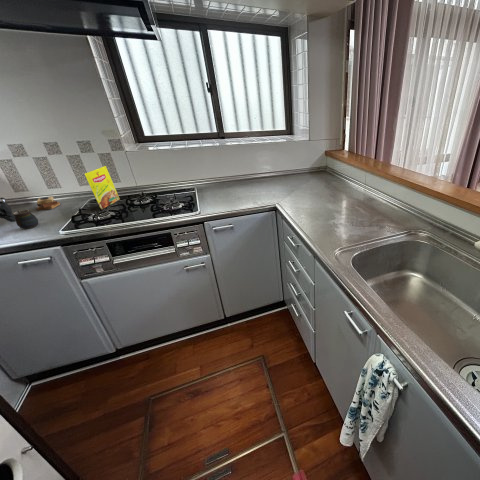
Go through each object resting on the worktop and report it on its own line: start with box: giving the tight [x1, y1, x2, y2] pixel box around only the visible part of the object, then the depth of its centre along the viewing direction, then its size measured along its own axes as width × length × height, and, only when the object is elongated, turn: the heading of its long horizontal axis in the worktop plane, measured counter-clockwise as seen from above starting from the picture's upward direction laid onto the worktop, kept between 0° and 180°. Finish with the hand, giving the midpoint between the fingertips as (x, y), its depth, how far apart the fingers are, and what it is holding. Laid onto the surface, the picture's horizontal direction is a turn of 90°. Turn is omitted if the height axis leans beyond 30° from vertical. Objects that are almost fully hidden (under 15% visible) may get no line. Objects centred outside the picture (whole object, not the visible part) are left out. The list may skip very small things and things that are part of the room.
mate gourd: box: [12, 209, 39, 230], centre depth 126 cm, size 7×8×10 cm
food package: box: [84, 165, 121, 210], centre depth 148 cm, size 15×1×20 cm, turn 179°
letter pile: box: [35, 196, 61, 211], centre depth 149 cm, size 9×9×5 cm
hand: (13, 219), depth 118 cm, fingers closed
